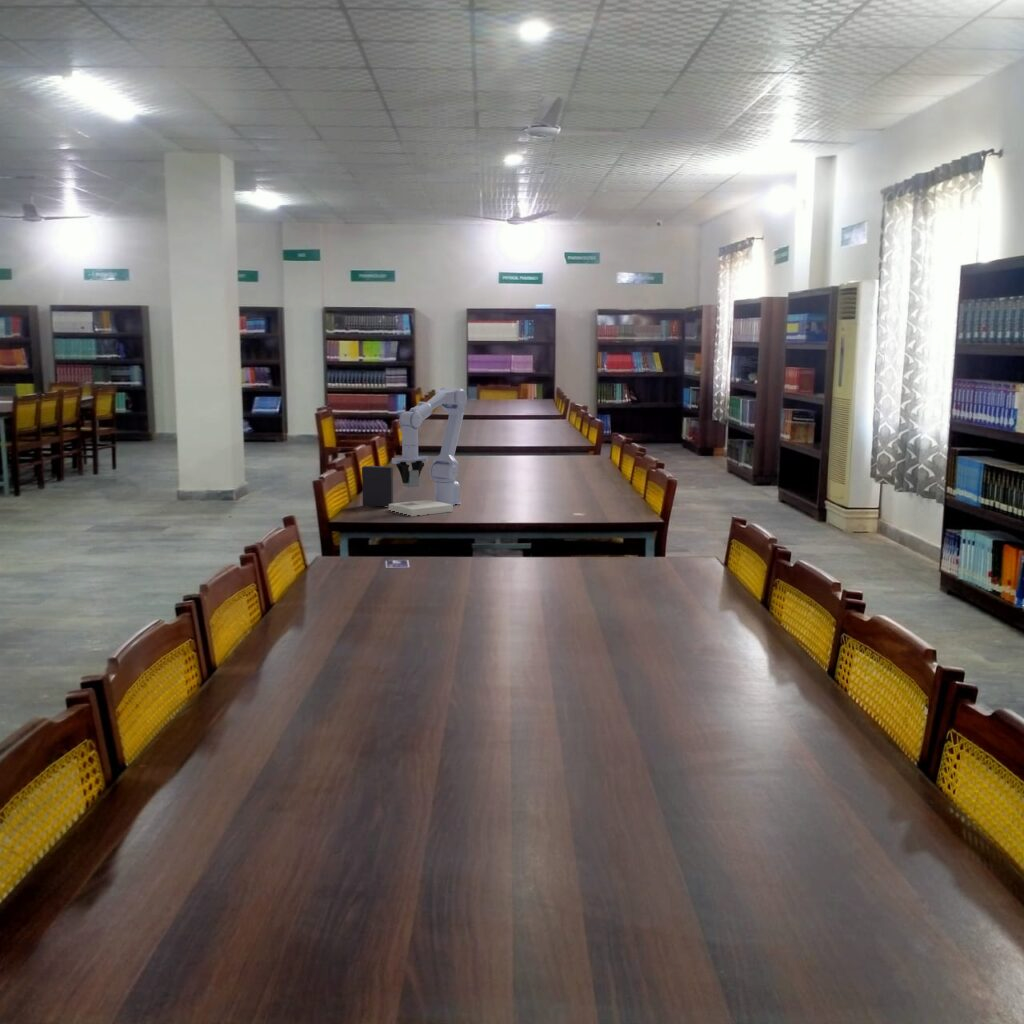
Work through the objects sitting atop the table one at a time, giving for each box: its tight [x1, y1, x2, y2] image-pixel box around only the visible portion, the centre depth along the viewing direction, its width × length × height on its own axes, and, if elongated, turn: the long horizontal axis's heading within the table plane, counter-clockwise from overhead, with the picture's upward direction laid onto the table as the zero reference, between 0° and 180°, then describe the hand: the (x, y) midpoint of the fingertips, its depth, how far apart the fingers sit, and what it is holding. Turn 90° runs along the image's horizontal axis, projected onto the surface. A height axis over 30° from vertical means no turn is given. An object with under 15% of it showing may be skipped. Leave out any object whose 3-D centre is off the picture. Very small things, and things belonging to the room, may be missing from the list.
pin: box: [402, 468, 420, 488], centre depth 350 cm, size 4×4×6 cm
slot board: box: [388, 499, 454, 517], centre depth 352 cm, size 18×15×2 cm
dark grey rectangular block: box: [361, 465, 394, 508], centre depth 360 cm, size 11×4×15 cm, turn 84°
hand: (410, 482), depth 351 cm, fingers closed on pin, 4 cm apart
